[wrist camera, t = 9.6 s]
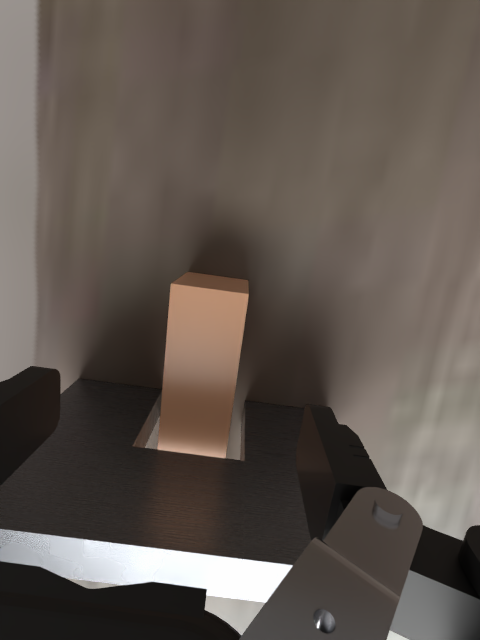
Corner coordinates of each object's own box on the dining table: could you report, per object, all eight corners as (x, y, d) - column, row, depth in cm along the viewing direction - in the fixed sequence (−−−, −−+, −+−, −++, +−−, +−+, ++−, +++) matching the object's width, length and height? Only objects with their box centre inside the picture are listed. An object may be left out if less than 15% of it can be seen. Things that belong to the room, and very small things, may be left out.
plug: (248, 280, 22) (248, 294, 17) (214, 524, 27) (206, 588, 22) (187, 271, 22) (170, 283, 17) (164, 518, 27) (146, 580, 22)
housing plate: (327, 411, 24) (401, 578, 13) (321, 435, 25) (388, 617, 13) (78, 378, 24) (-81, 518, 12) (78, 403, 24) (-75, 560, 13)
